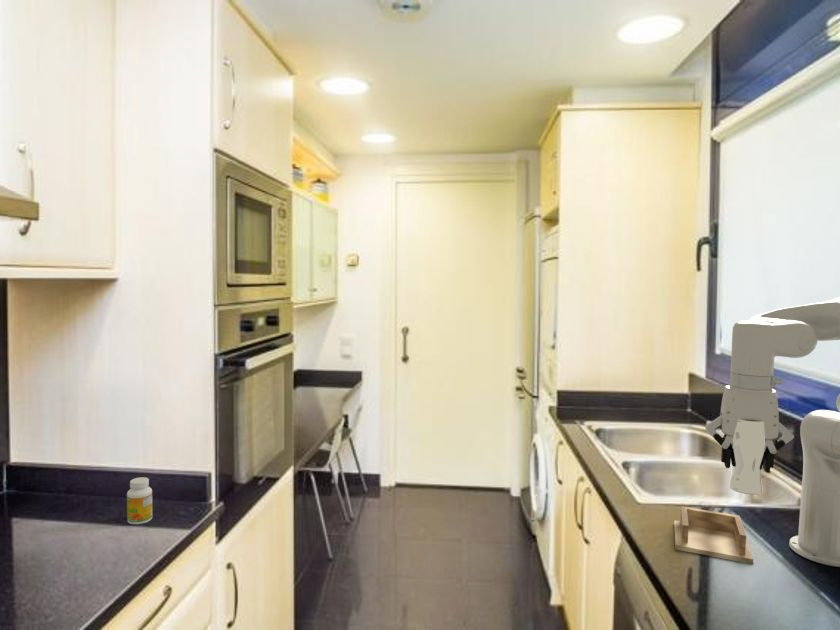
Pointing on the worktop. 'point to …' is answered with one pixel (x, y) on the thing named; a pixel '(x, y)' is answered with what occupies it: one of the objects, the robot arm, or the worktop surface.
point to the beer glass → (747, 457)
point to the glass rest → (712, 534)
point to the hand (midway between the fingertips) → (746, 467)
